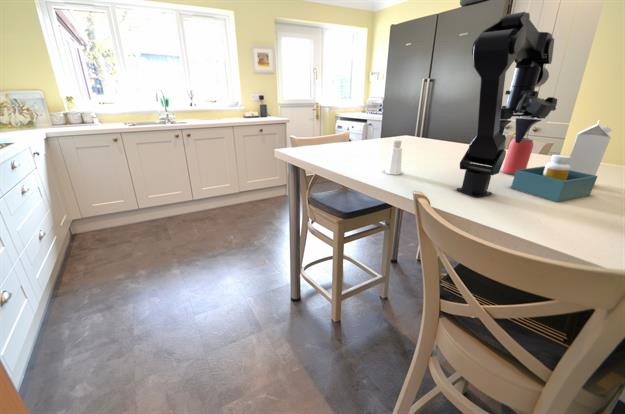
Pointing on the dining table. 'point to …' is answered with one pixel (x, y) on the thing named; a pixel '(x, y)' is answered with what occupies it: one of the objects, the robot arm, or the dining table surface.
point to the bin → (553, 184)
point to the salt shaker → (394, 158)
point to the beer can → (518, 155)
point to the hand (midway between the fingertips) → (507, 143)
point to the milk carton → (589, 149)
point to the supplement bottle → (558, 167)
